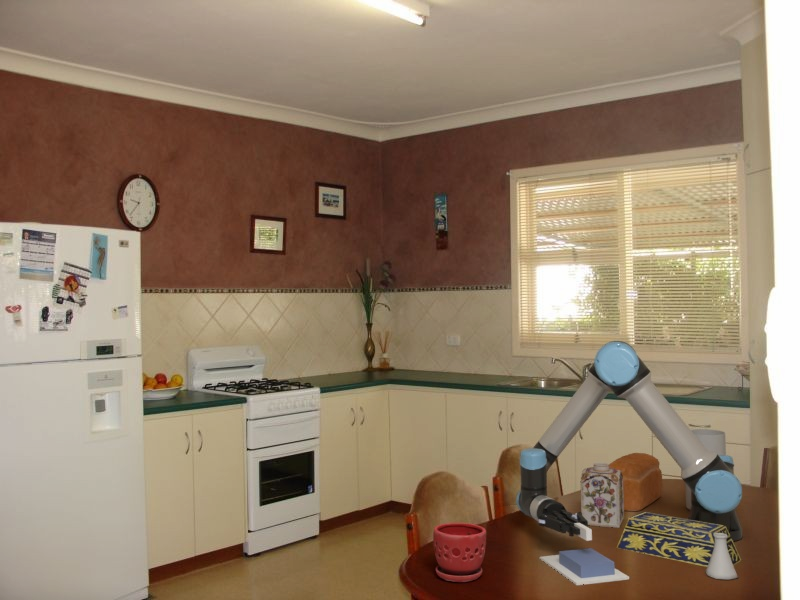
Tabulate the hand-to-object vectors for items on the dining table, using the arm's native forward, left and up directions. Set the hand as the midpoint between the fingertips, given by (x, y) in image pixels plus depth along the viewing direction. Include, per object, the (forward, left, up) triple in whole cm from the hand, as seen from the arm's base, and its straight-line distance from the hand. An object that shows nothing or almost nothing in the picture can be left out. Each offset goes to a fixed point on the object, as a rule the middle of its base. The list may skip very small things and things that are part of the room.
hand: (589, 535), depth 193 cm
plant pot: (+31, +8, -10) cm, 34 cm away
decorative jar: (-2, -50, -10) cm, 51 cm away
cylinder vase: (-34, -72, -10) cm, 80 cm away
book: (+4, -7, -7) cm, 11 cm away
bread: (-11, -77, -10) cm, 79 cm away
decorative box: (-22, -21, -10) cm, 32 cm away
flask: (-31, -6, -10) cm, 33 cm away
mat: (+2, -4, -10) cm, 10 cm away
